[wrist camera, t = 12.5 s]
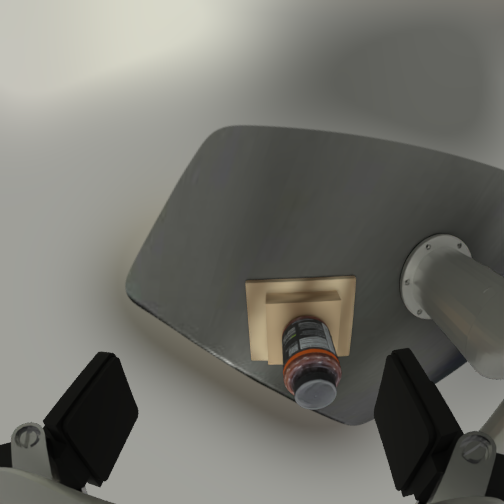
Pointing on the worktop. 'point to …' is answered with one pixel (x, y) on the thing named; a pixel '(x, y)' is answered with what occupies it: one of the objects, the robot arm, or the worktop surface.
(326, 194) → the worktop surface
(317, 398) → the supplement bottle
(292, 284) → the oak base
